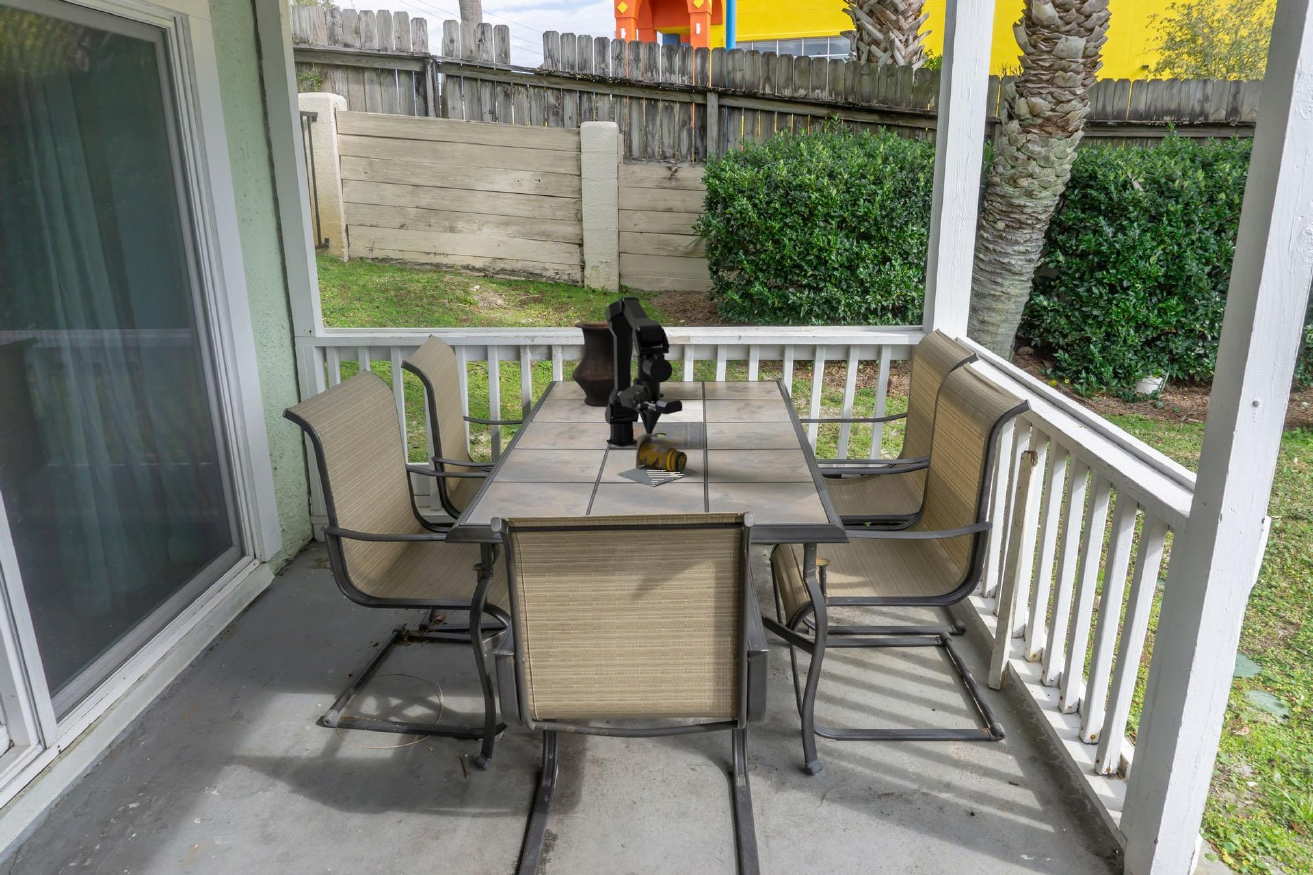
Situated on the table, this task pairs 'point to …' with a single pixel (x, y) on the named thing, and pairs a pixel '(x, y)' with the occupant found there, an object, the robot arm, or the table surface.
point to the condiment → (659, 455)
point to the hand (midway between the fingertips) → (649, 433)
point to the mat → (643, 477)
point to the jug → (597, 363)
